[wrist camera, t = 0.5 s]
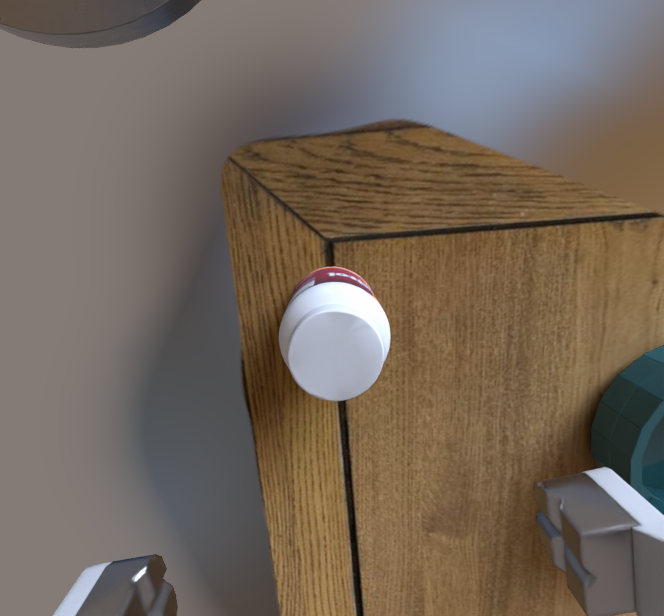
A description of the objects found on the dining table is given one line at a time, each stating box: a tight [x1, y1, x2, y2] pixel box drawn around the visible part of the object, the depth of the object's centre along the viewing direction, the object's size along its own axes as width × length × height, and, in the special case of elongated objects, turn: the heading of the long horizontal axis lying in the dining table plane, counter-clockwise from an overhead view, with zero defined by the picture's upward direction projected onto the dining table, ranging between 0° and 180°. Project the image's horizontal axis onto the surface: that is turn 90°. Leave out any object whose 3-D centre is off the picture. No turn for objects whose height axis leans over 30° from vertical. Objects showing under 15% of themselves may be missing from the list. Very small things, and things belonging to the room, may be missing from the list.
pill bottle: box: [279, 267, 390, 401], centre depth 25 cm, size 6×6×11 cm
